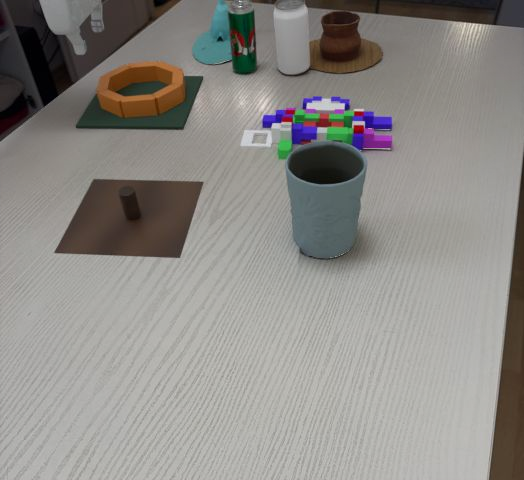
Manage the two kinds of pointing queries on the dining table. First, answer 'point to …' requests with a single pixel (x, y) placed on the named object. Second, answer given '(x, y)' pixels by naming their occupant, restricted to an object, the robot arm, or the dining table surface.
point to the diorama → (215, 38)
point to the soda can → (242, 36)
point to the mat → (166, 120)
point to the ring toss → (132, 218)
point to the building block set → (320, 126)
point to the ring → (141, 103)
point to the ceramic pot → (342, 45)
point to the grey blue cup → (325, 196)
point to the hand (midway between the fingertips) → (90, 41)
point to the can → (292, 36)
